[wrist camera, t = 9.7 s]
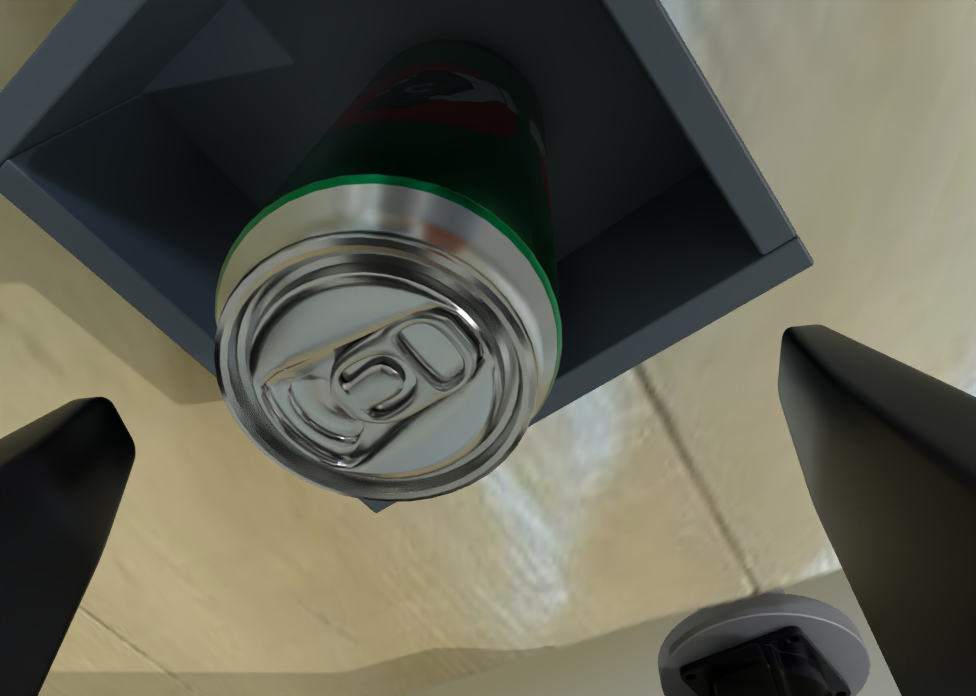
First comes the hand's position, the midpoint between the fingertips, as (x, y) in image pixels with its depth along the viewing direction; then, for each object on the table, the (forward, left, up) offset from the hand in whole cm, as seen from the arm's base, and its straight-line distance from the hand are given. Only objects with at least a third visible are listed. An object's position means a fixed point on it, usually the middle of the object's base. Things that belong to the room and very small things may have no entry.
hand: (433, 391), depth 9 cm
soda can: (+1, +1, -12) cm, 12 cm away
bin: (+1, +1, -12) cm, 13 cm away
